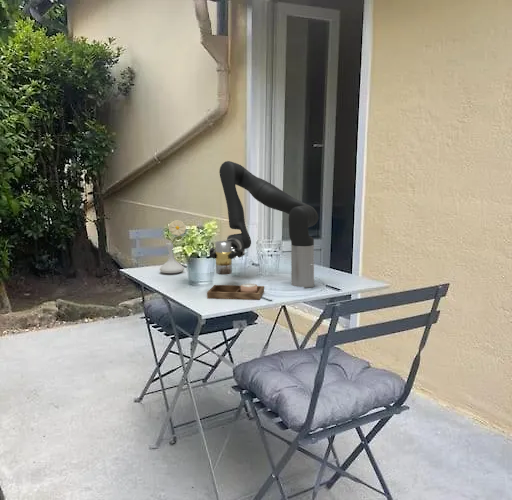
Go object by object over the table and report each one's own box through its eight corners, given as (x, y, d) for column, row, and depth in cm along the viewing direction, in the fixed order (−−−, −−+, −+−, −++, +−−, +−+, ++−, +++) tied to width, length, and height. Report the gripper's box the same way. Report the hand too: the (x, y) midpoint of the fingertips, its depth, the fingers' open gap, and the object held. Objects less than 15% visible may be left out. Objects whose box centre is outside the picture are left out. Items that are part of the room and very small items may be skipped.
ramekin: (258, 293, 212) (258, 283, 211) (255, 297, 205) (255, 287, 205) (242, 293, 213) (242, 282, 212) (239, 297, 206) (239, 286, 206)
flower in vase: (157, 275, 250) (155, 221, 246) (161, 270, 261) (159, 218, 257) (186, 275, 250) (184, 221, 246) (188, 270, 262) (187, 218, 257)
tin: (233, 271, 212) (232, 240, 210) (230, 274, 206) (229, 243, 204) (218, 270, 213) (217, 240, 211) (214, 274, 207) (213, 243, 205)
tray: (264, 293, 214) (264, 286, 214) (259, 301, 203) (259, 293, 202) (214, 292, 217) (214, 284, 217) (207, 299, 206) (207, 292, 205)
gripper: (213, 239, 222) (203, 246, 206) (248, 239, 220) (240, 246, 204) (214, 257, 224) (204, 265, 207) (248, 257, 221) (241, 266, 205)
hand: (222, 256), depth 206 cm, fingers closed on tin, 6 cm apart
